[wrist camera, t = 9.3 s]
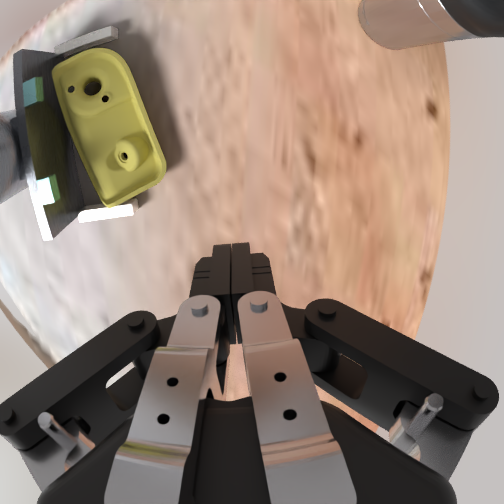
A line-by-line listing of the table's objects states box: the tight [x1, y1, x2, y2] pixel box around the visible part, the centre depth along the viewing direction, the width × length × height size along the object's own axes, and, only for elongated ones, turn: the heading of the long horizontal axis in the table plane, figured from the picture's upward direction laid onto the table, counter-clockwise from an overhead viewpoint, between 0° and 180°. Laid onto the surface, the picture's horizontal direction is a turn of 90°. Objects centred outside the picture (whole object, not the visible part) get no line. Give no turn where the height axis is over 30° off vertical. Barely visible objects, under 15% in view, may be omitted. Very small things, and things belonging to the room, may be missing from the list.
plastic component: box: [52, 48, 166, 209], centre depth 31 cm, size 20×7×10 cm
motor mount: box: [0, 26, 139, 240], centre depth 25 cm, size 23×26×18 cm
